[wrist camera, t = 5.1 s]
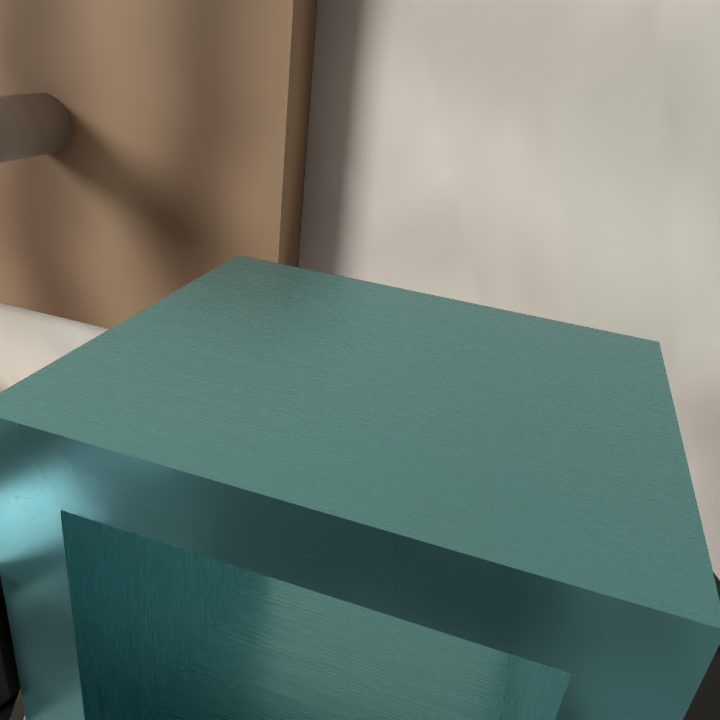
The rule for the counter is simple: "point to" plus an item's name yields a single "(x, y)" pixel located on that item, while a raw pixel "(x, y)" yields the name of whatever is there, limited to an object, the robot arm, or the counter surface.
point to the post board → (147, 146)
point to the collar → (350, 514)
